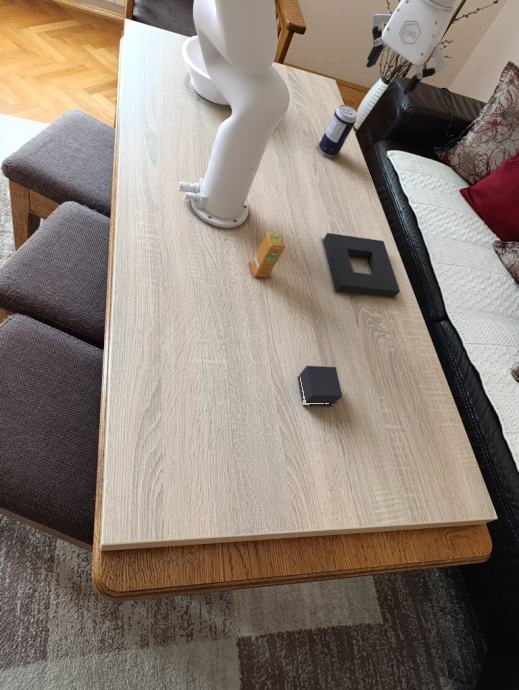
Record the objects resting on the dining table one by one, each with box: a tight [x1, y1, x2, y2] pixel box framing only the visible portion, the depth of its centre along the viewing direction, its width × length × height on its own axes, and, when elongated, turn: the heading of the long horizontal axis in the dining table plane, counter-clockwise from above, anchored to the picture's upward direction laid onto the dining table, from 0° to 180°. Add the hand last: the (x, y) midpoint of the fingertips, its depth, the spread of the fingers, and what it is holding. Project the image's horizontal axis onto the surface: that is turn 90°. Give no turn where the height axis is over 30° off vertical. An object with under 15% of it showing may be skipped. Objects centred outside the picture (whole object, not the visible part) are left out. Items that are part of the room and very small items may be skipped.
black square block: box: [297, 365, 343, 408], centre depth 90 cm, size 6×6×4 cm
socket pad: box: [322, 232, 401, 299], centre depth 112 cm, size 15×15×2 cm
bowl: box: [181, 35, 230, 106], centre depth 128 cm, size 21×21×8 cm
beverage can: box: [318, 104, 358, 158], centre depth 128 cm, size 6×6×12 cm
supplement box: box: [250, 232, 286, 278], centre depth 99 cm, size 3×3×10 cm
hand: (388, 79), depth 104 cm, fingers open, 9 cm apart
